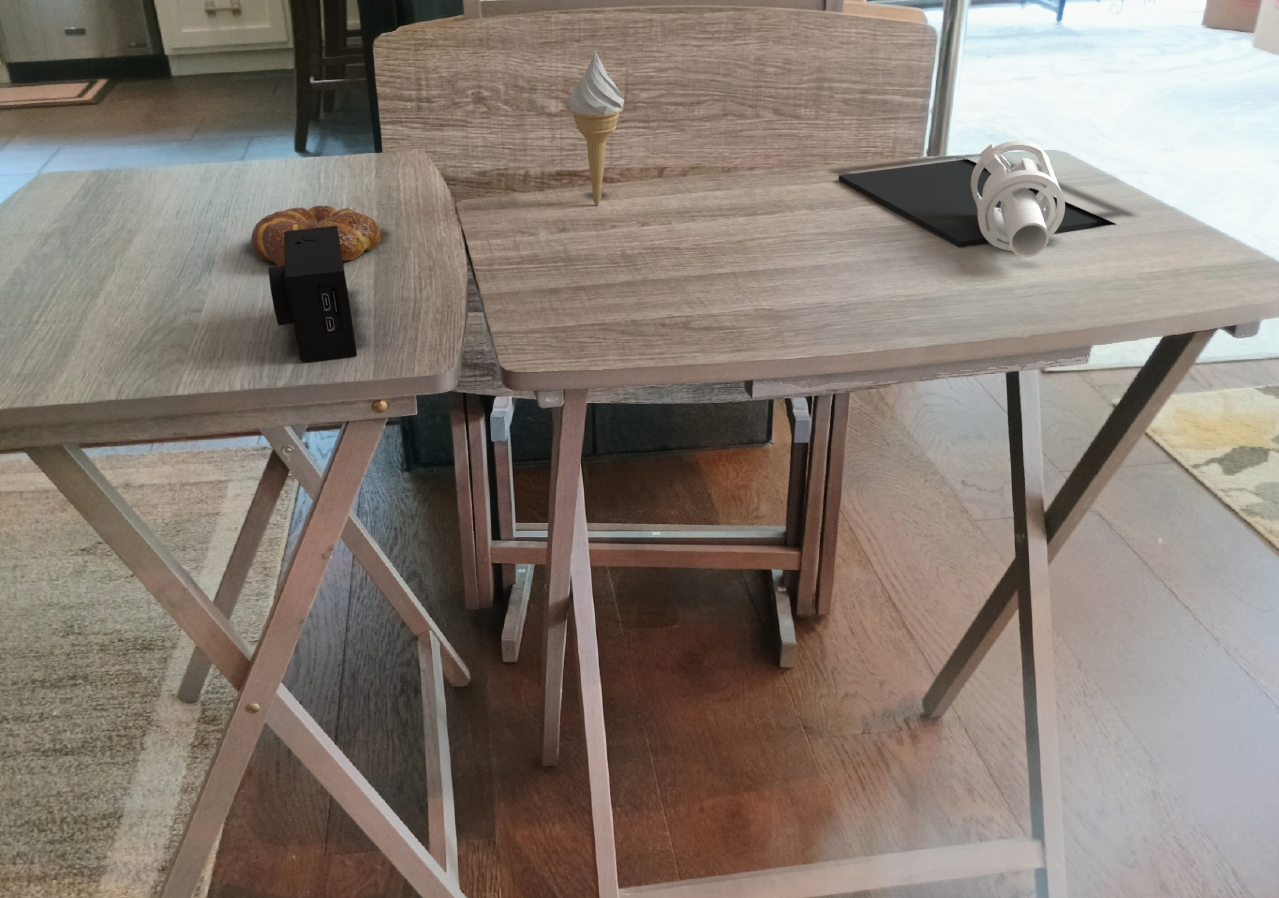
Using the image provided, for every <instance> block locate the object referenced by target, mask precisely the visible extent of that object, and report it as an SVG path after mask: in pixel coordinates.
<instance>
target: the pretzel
mask: <svg viewBox="0 0 1279 898" xmlns="http://www.w3.org/2000/svg"><path fill="white" fill-rule="evenodd" d="M330 226H337V227H338V233H339V239H340V246H341V252H342V259H343V262H345V261H352V260H355V259H357V258H360V257H361V255H362V254H364V253H365V251H372V250H373V249H374V248H376V247H377V246H378V245H379V244H380V242H381V238H382V236H381V229H380V227H379V226H378V224H377V222H376V221H375V220H374V219H373V218H371V217H370V216H368V215H367V214H364V213H360V212H358V211H355V210H353V209H351V208H348V207H347V208H342V209H339V210H338V209H337V208H335V207H332V206H329V205H316V206H314V205H313V206H312V207H310V208H309V209H308V208H305V207H293V208H291V207H290V208H288V209H285V210H279V211H275V212H273V213H271V214H268V215H266V216H264V217H263V218H261V219H260V220H259V221H258V222H257V223H256V224H255V226H254V227H253V229H252V233H251V239H250V241H251V247H252V249H253V251H254V253H255V254H256V255H257V256H258V257H259V258H261V259H263V260H265V261H268V262H272V263H274V264H275V266H281V265H285V259H284V232H285V231H291V230H301V229H311V228H321V227H330Z"/></svg>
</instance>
